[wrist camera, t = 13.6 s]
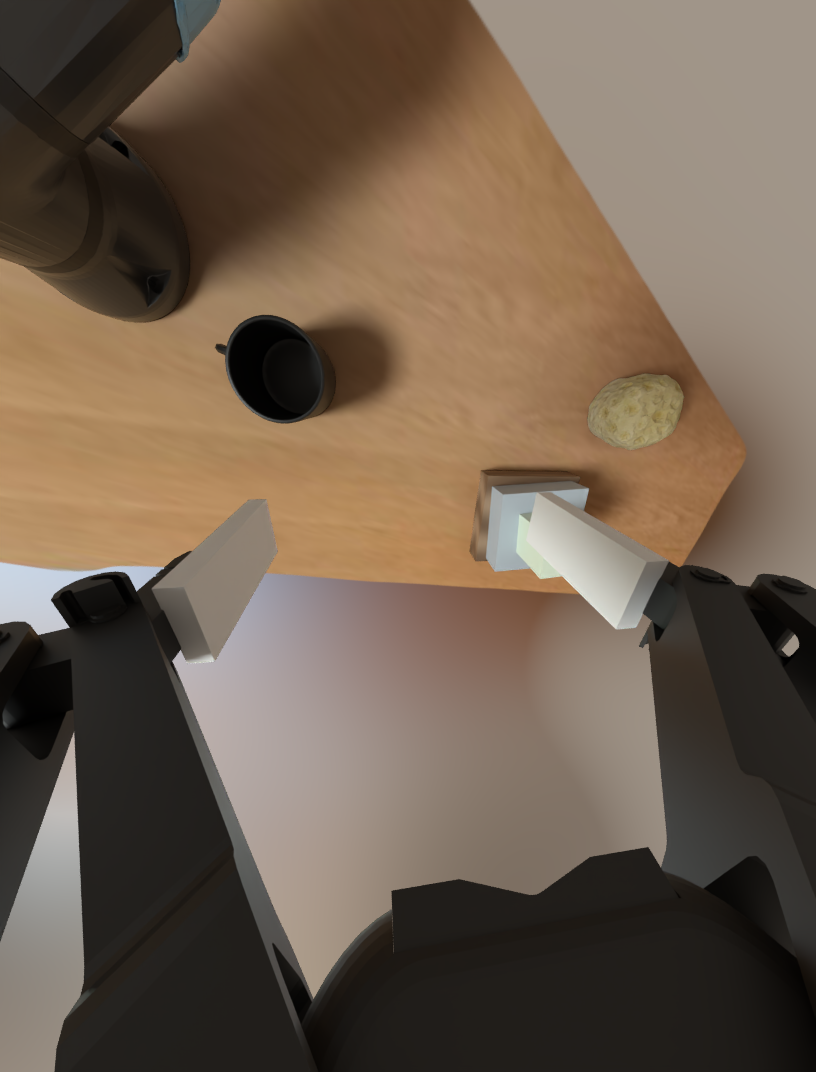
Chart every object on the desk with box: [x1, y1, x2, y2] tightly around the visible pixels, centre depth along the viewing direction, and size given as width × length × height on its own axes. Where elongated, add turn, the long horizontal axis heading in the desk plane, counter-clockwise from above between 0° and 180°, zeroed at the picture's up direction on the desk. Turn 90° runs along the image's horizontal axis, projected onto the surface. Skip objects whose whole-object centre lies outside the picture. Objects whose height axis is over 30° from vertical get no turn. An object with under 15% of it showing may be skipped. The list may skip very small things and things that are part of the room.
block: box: [516, 513, 562, 579], centre depth 38 cm, size 6×6×7 cm
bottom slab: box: [470, 471, 580, 561], centre depth 47 cm, size 14×14×4 cm
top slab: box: [486, 481, 589, 571], centre depth 43 cm, size 12×12×4 cm
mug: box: [215, 315, 336, 423], centre depth 32 cm, size 9×12×9 cm
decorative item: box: [587, 373, 685, 450], centre depth 40 cm, size 10×10×10 cm
